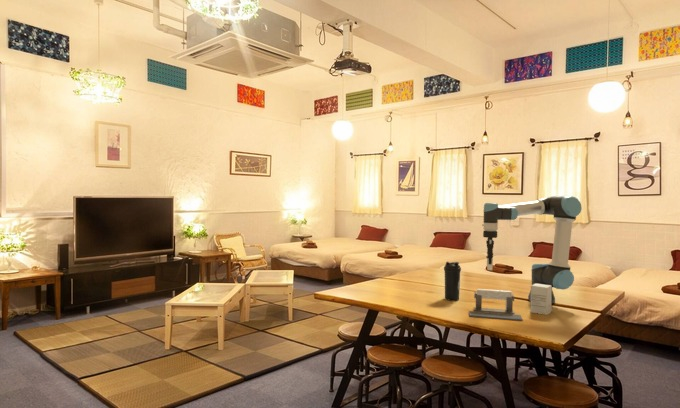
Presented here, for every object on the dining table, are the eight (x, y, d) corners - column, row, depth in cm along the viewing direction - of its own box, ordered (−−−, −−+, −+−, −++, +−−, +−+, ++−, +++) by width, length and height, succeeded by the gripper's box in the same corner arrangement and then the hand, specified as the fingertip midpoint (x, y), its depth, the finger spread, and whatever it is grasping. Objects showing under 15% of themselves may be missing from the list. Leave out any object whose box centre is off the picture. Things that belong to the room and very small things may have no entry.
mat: (520, 316, 233) (520, 315, 233) (522, 320, 225) (522, 319, 225) (469, 312, 241) (469, 311, 241) (469, 316, 232) (469, 315, 232)
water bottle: (461, 301, 267) (461, 263, 266) (443, 300, 269) (444, 262, 268) (459, 297, 277) (460, 261, 276) (443, 296, 279) (443, 260, 278)
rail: (510, 299, 243) (510, 290, 243) (511, 300, 240) (511, 292, 240) (476, 296, 248) (476, 288, 248) (476, 298, 245) (477, 289, 245)
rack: (513, 311, 244) (513, 294, 244) (514, 314, 238) (514, 296, 238) (473, 308, 250) (473, 291, 250) (473, 310, 244) (474, 293, 244)
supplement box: (534, 309, 250) (535, 283, 249) (551, 312, 244) (552, 285, 244) (529, 312, 243) (530, 285, 242) (547, 315, 237) (547, 287, 237)
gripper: (483, 228, 260) (482, 264, 260) (483, 231, 236) (482, 271, 236) (496, 229, 258) (495, 265, 258) (498, 232, 234) (497, 272, 234)
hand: (489, 268), depth 247 cm, fingers open, 13 cm apart
